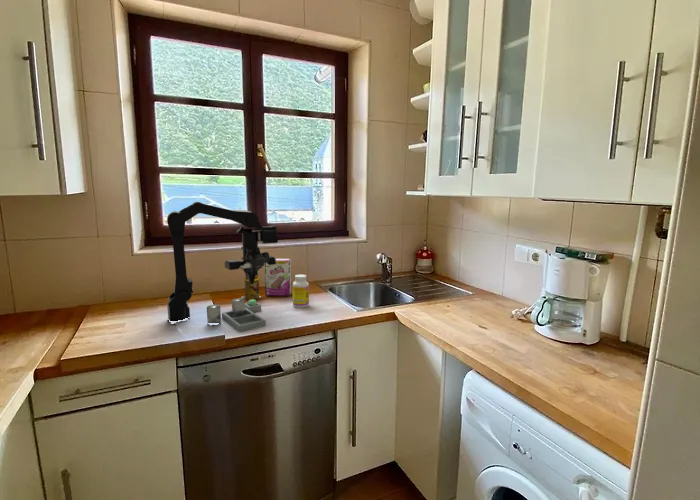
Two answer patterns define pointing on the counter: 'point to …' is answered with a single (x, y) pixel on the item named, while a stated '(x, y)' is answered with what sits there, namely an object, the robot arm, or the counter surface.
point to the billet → (213, 314)
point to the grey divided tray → (244, 320)
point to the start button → (252, 302)
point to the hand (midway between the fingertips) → (251, 284)
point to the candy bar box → (278, 278)
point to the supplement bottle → (300, 292)
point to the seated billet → (238, 307)
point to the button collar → (253, 307)
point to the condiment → (251, 289)
